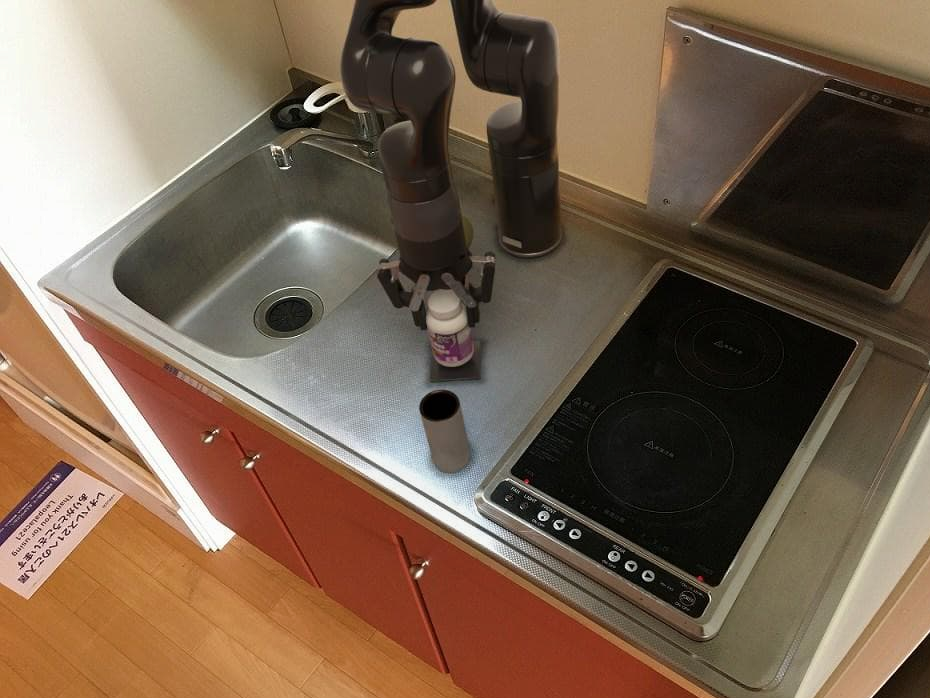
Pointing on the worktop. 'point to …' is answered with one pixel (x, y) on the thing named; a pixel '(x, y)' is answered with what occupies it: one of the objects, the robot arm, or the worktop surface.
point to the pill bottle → (449, 329)
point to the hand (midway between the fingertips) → (448, 323)
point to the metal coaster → (458, 368)
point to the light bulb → (467, 231)
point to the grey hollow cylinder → (445, 430)
